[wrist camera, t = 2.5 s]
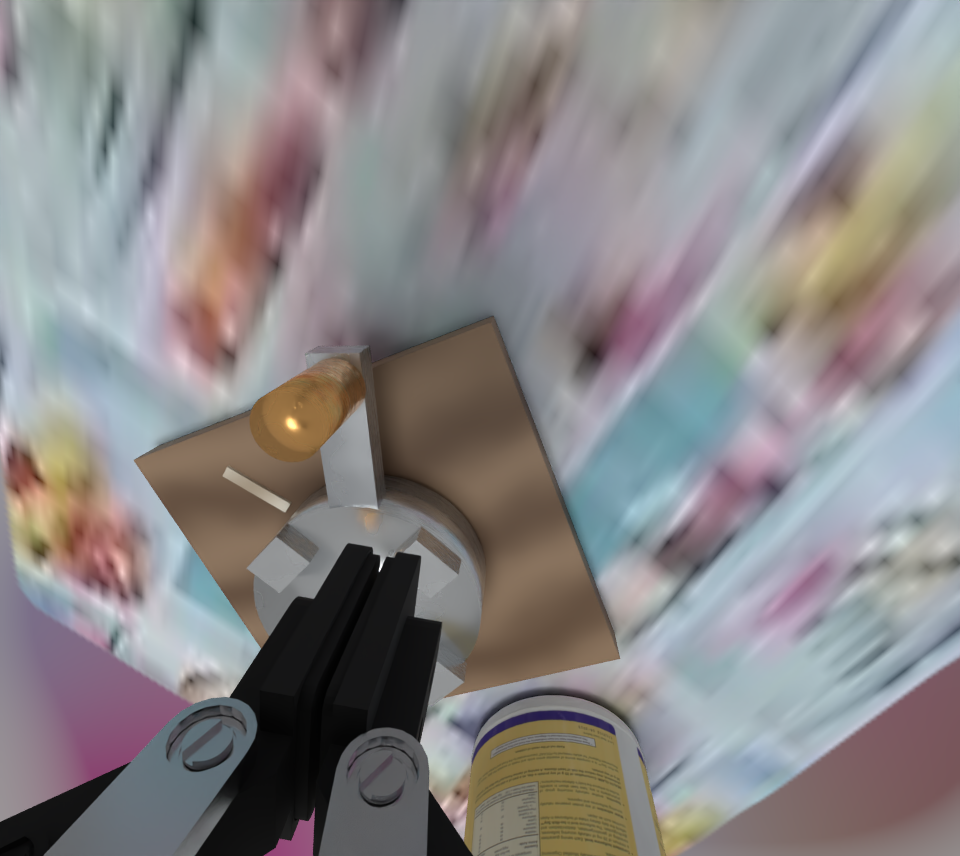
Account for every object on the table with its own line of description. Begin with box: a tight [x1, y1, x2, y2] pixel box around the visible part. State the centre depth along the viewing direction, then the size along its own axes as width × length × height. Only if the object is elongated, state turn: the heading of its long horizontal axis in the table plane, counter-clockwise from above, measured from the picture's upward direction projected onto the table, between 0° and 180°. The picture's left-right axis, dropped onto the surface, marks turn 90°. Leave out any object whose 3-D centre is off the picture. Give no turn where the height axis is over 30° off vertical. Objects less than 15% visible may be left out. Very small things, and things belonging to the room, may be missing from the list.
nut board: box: [134, 316, 620, 698], centre depth 31 cm, size 22×22×2 cm
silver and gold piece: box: [247, 346, 486, 706], centre depth 24 cm, size 20×12×8 cm, turn 2°
